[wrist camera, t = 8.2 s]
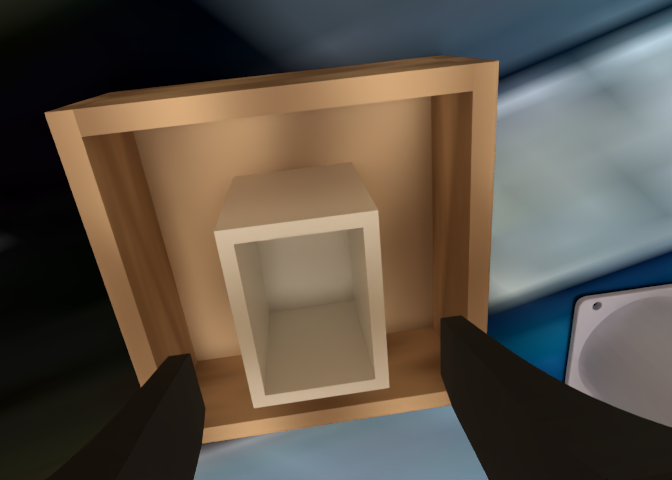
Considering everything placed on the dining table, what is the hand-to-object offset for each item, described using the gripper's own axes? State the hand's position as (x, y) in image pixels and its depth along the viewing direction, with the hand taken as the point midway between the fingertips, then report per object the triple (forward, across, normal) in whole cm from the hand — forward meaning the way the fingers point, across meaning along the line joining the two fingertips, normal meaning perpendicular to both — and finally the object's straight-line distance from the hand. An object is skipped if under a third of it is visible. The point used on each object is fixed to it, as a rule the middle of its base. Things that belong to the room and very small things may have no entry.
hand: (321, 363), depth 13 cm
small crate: (+8, 0, 0) cm, 8 cm away
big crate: (+9, 0, 0) cm, 9 cm away
